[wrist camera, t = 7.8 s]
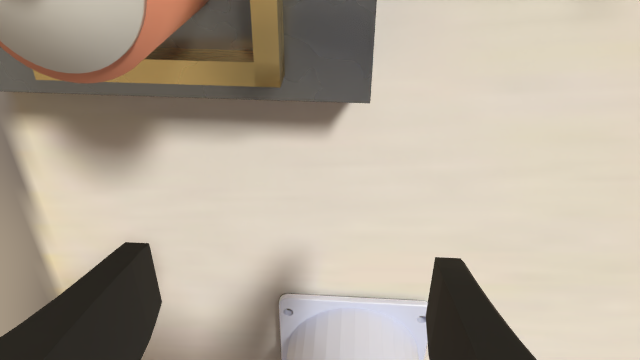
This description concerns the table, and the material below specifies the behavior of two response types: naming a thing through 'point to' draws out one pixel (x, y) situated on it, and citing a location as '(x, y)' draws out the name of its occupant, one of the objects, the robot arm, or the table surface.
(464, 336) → the robot arm
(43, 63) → the spout can
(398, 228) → the table surface
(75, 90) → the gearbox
